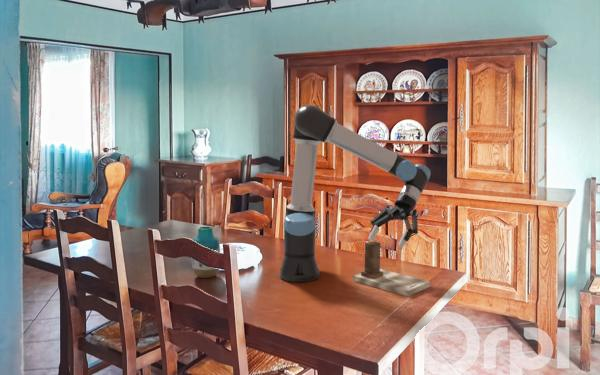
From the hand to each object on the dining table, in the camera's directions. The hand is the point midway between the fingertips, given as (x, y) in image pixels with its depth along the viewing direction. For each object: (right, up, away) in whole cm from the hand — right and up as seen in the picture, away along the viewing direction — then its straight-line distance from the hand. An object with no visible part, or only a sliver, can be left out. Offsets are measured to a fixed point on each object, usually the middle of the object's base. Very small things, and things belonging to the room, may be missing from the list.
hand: (384, 243), depth 203 cm
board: (+2, -14, -5) cm, 15 cm away
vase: (-67, -13, +3) cm, 69 cm away
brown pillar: (-5, -12, -2) cm, 13 cm away
